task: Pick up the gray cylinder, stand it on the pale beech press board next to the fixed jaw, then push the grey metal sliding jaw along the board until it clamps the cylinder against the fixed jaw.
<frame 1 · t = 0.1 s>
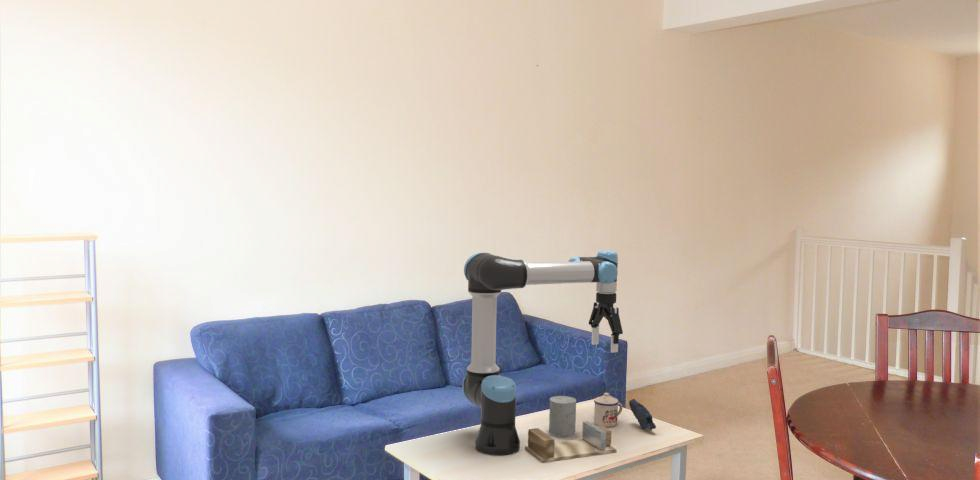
hand: (604, 348, 291), 28 cm above the table, fingers open, 13 cm apart
gray cylinder: (562, 433, 279), on the table
press: (570, 450, 261), on the table
teacup with lid: (608, 423, 291), on the table
stone: (641, 429, 285), on the table
slide jaw: (599, 434, 265), point 4 cm above the table, slide at 0.0 cm
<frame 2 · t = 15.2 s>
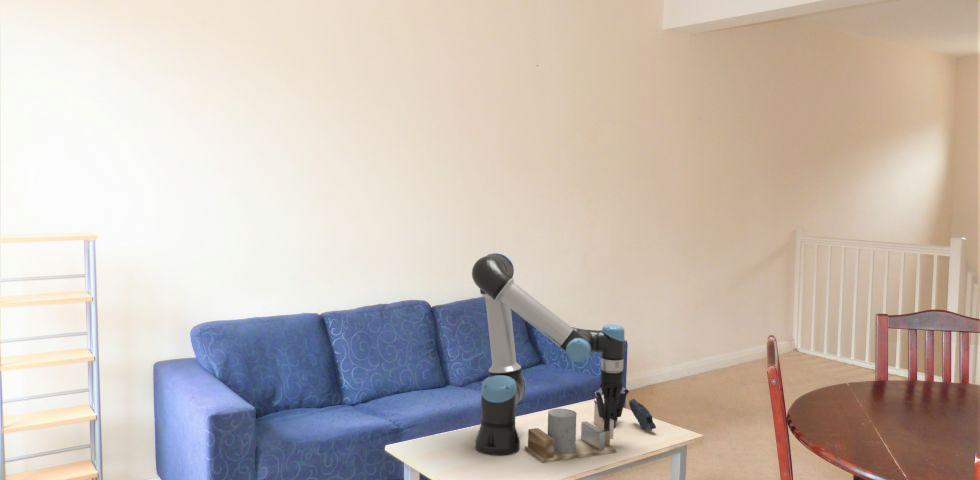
hand: (609, 437, 267), 3 cm above the table, fingers closed
gray cylinder: (561, 449, 259), point 1 cm above the table, touching press
slide jaw: (597, 434, 264), point 4 cm above the table, slide at 0.6 cm, touching gripper
everything else where it was.
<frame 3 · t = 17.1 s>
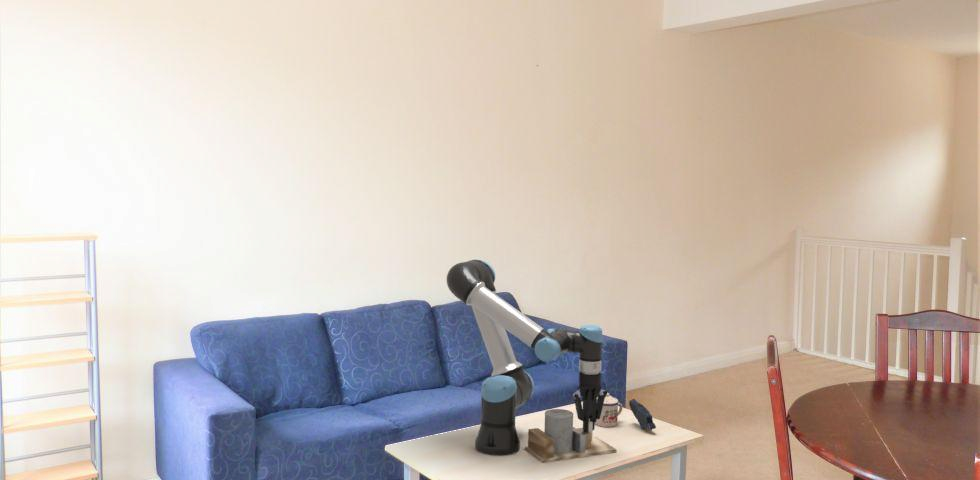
hand: (588, 439, 263), 3 cm above the table, fingers closed
gray cylinder: (558, 449, 259), point 1 cm above the table, touching press, slide jaw
slide jaw: (578, 437, 262), point 4 cm above the table, slide at 7.9 cm, touching gray cylinder, gripper
everything else where it was.
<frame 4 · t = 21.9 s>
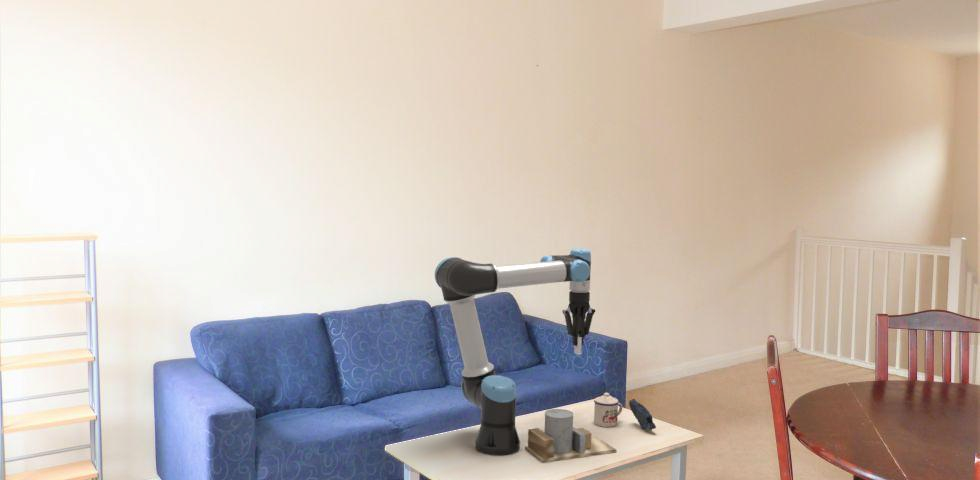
hand: (577, 353, 288), 26 cm above the table, fingers closed
gray cylinder: (558, 449, 259), point 1 cm above the table, touching press
slide jaw: (579, 437, 262), point 4 cm above the table, slide at 7.9 cm
everything else where it was.
at the end: slide jaw slide at 7.9 cm; gray cylinder inside the target area (0.4 cm from its centre), point 0.8 cm above the table; gray cylinder tilted 0° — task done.
